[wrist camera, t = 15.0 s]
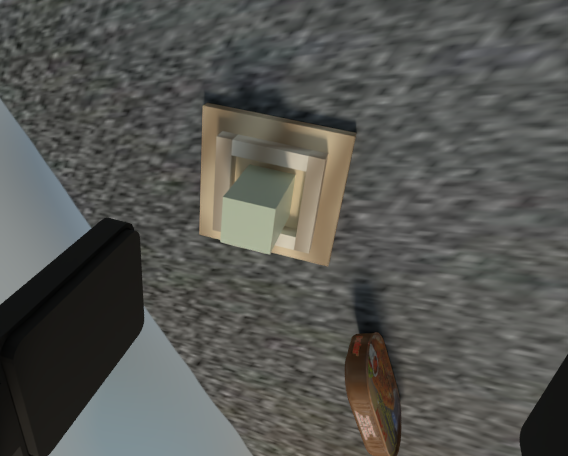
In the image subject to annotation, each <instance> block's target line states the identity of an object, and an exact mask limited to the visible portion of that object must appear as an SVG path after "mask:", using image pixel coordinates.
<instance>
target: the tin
mask: <svg viewBox="0 0 568 456" xmlns="http://www.w3.org/2000/svg"><path fill="white" fill-rule="evenodd" d="M345 385H346V391H347V396H348V400H349V403H350V406H351V409H352V412H353V415H354V417H355V420H356V423H357V426H358V429H359V431H360V434H361V437H362V439H363V442H364V445H365V447H366V449H367V451H368V452H369V454H371V455H373V456H397V454H398V452H399V447H400V441H401V404H400V397H399V392H398V388H397V385H396V381H395V378H394V374H393V371H392V367H391V364H390V360H389V357H388V353H387V350H386V346H385V343H384V340H383V338H382V336H381V335H380V334H379V333H378V332H375V333H364V334H356V335H354V336H353V337H352V339H351V342H350V345H349V349H348V354H347V357H346V361H345Z"/></svg>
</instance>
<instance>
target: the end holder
mask: <svg viewBox="0 0 568 456" xmlns="http://www.w3.org/2000/svg"><path fill="white" fill-rule="evenodd" d="M355 138H356V133H354V132H349V131H344V130H339V129H335V128H330V127H325V126H320V125H315V124H310V123H305V122H300V121H295V120H290V119H285V118H280V117H275V116H271V115H266V114H261V113H256V112H251V111H246V110H241V109H236V108H231V107H226V106H221V105H216V104H211V103H206V104H204V105H203V118H202V156H201V194H200V233H199V234H200V235H204V236H208V237H212V238H216V239H221V221H222V204H223V196H224V195H225V194H226V192H227V191H228V190H229V189H230V188H231V186H232V185H233V184H234V183H235V181H236V180H237V179H238V178H239V177H240V175H241V174H242V173H243V172H244V171H245V169H246V168H247V167H248V166H249V164H250V165H255V166H259V167H264V168H268V169H273V170H277V171H281V172H286V173H290V174H295V182H294V189H293V196H292V202H291V209H290V216H289V218H288V220H287V222H286V224H285V226H284V228H283V230H282V232H281V234H280V236H279V238H278V239H277V241H276V243H275V245H274V247H273V249H272V251H271V252H272V253H276V254H280V255H284V256H288V257H292V258H296V259H300V260H304V261H308V262H312V263H316V264H320V265H324V266H328V264H329V261H330V256H331V252H332V247H333V242H334V237H335V233H336V228H337V223H338V219H339V214H340V209H341V204H342V200H343V195H344V190H345V185H346V181H347V176H348V171H349V166H350V162H351V157H352V152H353V147H354V143H355Z"/></svg>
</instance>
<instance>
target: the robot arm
mask: <svg viewBox="0 0 568 456" xmlns="http://www.w3.org/2000/svg"><path fill="white" fill-rule="evenodd" d="M143 324H144V304H143V286H142V267H141V249H140V236H139V233H138V232H137V231H134V227H133V226H132V224H130V223H127V222H123V221H119V220H115V219H111V218H104V219H103V220H101V221H100V222H99V223H98V224H96V225H95V226H94V227H93V228H92V229H90V230H89V231H88V232H87V233H86V234H84V235H83V236H82V237H81V238H80V239H78V240H77V241H76V242H75V243H74V244H72V245H71V246H70V247H69V248H68V249H66V250H65V251H64V252H63V253H62V254H60V255H59V256H58V257H57V258H56V259H55V260H53V261H52V262H51V263H50V264H48V265H47V266H46V267H45V268H44V269H43V270H41V271H40V272H39V273H38V274H37V275H35V276H34V277H33V278H32V279H31V280H29V281H28V282H27V283H26V284H25V285H23V286H22V287H21V288H20V289H19V290H17V291H16V292H15V293H14V294H13V295H11V296H10V297H9V298H8V299H7V300H5V301H4V302H3V303H2V304H1V305H0V456H48V455H49V454H50V453H51V452H52V450H53V449H54V448H55V447H56V445H57V444H58V443H59V441H60V440H61V439H62V437H63V435H64V434H65V433H66V432H67V430H68V429H69V428H70V426H71V425H72V424H73V422H74V421H75V420H76V418H77V417H78V415H79V414H80V413H81V412H82V410H83V409H84V408H85V406H86V405H87V404H88V402H89V401H90V400H91V398H92V397H93V396H94V394H95V393H96V392H97V390H98V389H99V387H100V386H101V385H102V383H103V382H104V381H105V379H106V378H107V377H108V375H109V374H110V373H111V371H112V370H113V369H114V367H115V366H116V365H117V363H118V362H119V361H120V359H121V358H122V357H123V355H124V354H125V353H126V351H127V350H128V349H129V347H130V346H131V344H132V343H133V342H134V340H135V339H136V338H137V336H138V335H139V334H140V332H141V330H142V327H143ZM520 448H521V453H522V456H568V355H567V356H566V358H565V359H564V361H563V363H562V364H561V366H560V367H559V369H558V371H557V372H556V374H555V375H554V377H553V378H552V380H551V382H550V383H549V385H548V386H547V388H546V390H545V391H544V393H543V394H542V396H541V398H540V399H539V401H538V402H537V404H536V405H535V407H534V409H533V410H532V412H531V413H530V415H529V417H528V418H527V420H526V421H525V423H524V425H523V426H522V429H521V432H520Z"/></svg>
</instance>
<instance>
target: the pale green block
mask: <svg viewBox="0 0 568 456" xmlns="http://www.w3.org/2000/svg"><path fill="white" fill-rule="evenodd" d="M294 182H295V174H290V173H286V172H281V171H277V170H273V169H268V168H264V167H259V166H255V165H250V164H249V166H248V167H247V168H246V169H245V171H244V172H243V173H242V174H241V175H240V177H239V178H238V179H237V180H236V181H235V183H234V184H233V185H232V186H231V188H230V189H229V190H228V191H227V192H226V194H225V195H224V196H223V204H222V221H221V239H220V242H222V243H226V244H230V245H234V246H238V247H242V248H246V249H250V250H254V251H258V252H262V253H265V254H269V255H270V253H271V251H272V249H273V247H274V245H275V243H276V241H277V239H278V238H279V236H280V234H281V232H282V230H283V228H284V226H285V224H286V222H287V220H288V218H289V216H290V209H291V202H292V196H293V189H294Z"/></svg>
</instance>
